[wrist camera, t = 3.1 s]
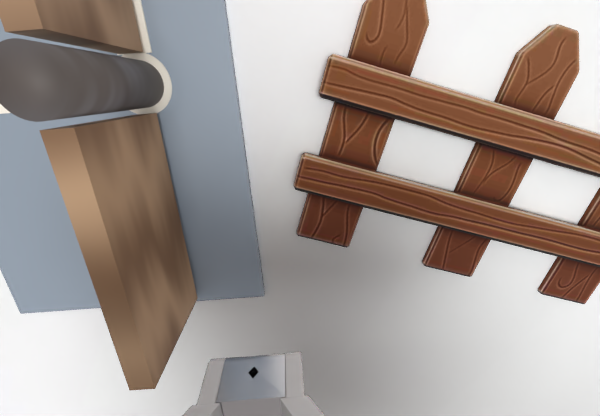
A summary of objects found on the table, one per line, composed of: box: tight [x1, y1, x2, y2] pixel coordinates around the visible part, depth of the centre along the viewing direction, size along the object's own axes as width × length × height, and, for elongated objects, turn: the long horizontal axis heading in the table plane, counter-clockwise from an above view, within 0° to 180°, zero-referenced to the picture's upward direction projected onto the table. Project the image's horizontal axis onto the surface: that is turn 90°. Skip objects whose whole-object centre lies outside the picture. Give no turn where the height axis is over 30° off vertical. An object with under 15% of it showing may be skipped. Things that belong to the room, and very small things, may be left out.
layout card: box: [0, 0, 265, 313], centre depth 18 cm, size 28×17×1 cm, turn 4°
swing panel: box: [39, 113, 197, 390], centre depth 16 cm, size 12×1×7 cm, turn 4°
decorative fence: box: [294, 0, 600, 304], centre depth 19 cm, size 23×2×15 cm
